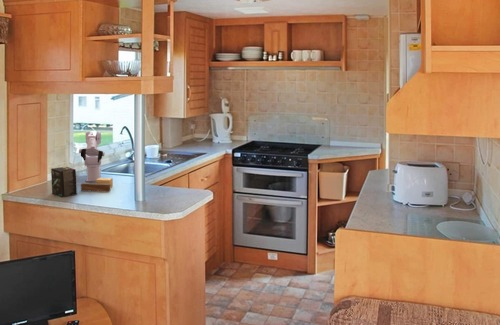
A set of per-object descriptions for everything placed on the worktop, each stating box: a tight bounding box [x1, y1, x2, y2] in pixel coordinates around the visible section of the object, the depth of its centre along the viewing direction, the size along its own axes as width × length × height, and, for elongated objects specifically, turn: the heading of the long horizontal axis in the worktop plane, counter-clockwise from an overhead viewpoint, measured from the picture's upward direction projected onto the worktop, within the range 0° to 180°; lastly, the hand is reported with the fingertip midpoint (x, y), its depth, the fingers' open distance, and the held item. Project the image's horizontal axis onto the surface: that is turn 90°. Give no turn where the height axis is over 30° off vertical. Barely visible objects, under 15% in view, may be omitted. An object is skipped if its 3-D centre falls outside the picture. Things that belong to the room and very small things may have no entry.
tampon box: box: [50, 166, 78, 198], centre depth 278 cm, size 11×9×15 cm
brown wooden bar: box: [80, 182, 111, 193], centre depth 289 cm, size 3×16×4 cm, turn 89°
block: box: [95, 177, 114, 189], centre depth 299 cm, size 6×8×5 cm
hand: (91, 160), depth 293 cm, fingers open, 7 cm apart
